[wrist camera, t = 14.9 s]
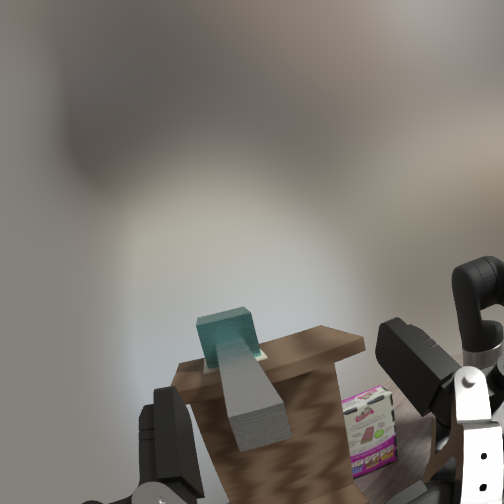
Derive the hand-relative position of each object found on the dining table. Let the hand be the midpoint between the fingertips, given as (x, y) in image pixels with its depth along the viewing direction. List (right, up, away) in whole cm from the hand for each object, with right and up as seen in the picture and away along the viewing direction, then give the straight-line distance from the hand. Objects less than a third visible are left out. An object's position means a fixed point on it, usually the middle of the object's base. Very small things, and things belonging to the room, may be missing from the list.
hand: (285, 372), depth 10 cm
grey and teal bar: (-2, -7, +15) cm, 17 cm away
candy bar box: (+21, -36, +30) cm, 51 cm away
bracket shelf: (+7, -38, +19) cm, 43 cm away
